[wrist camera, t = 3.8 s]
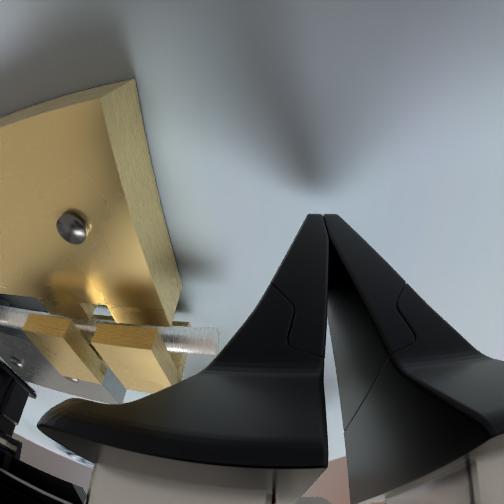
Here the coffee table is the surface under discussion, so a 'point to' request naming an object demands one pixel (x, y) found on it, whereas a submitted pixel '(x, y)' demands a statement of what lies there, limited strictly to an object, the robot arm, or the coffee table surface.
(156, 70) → the coffee table surface
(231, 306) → the coffee table surface
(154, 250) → the loose leaf
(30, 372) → the fixed leaf
